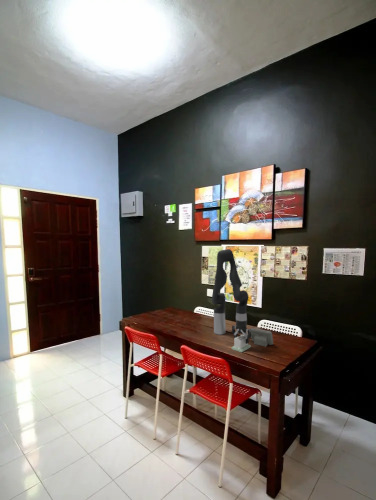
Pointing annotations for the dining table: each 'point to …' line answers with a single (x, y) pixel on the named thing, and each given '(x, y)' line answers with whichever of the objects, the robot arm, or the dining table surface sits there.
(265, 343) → the digital clock
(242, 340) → the plug housing
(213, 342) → the dining table surface
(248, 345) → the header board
